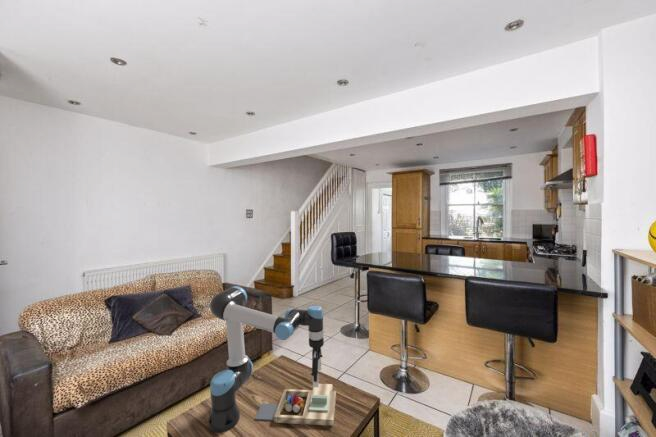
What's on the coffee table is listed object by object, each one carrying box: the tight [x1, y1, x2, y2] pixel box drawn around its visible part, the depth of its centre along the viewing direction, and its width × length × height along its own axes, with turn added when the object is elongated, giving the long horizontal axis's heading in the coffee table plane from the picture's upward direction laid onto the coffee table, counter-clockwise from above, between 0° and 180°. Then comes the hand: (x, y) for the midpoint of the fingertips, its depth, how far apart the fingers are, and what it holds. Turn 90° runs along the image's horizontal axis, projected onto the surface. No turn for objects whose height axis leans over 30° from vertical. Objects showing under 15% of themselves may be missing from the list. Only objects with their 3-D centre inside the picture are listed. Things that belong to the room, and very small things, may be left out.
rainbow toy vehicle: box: [284, 394, 304, 414], centre depth 148 cm, size 8×10×7 cm
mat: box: [254, 402, 279, 422], centre depth 146 cm, size 11×11×1 cm
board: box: [273, 383, 337, 427], centre depth 151 cm, size 30×27×3 cm
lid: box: [309, 395, 330, 411], centre depth 147 cm, size 10×11×4 cm
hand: (317, 378), depth 140 cm, fingers open, 13 cm apart
